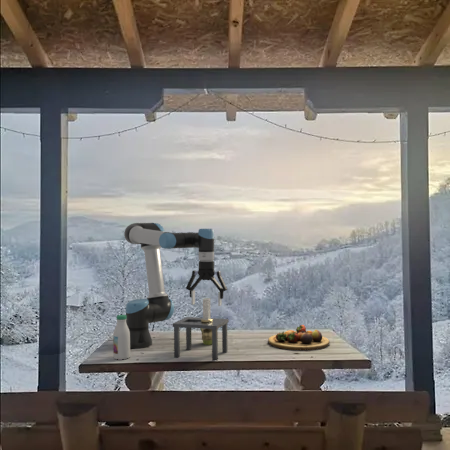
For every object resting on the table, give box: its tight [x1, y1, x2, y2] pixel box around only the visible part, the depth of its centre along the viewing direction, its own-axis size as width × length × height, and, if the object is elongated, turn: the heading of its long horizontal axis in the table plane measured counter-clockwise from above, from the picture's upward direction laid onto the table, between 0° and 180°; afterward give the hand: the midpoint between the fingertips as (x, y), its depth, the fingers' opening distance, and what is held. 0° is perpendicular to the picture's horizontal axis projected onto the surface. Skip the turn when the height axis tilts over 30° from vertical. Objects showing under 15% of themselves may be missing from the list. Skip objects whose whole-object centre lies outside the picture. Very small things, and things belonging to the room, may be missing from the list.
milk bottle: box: [112, 314, 131, 361], centre depth 232 cm, size 8×8×20 cm
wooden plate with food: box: [267, 324, 330, 351], centre depth 258 cm, size 32×32×8 cm
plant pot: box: [199, 328, 212, 346], centre depth 259 cm, size 9×9×9 cm
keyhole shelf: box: [172, 316, 230, 361], centre depth 237 cm, size 22×18×16 cm
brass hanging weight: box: [201, 297, 213, 341], centre depth 236 cm, size 6×6×20 cm
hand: (206, 305), depth 236 cm, fingers open, 13 cm apart
